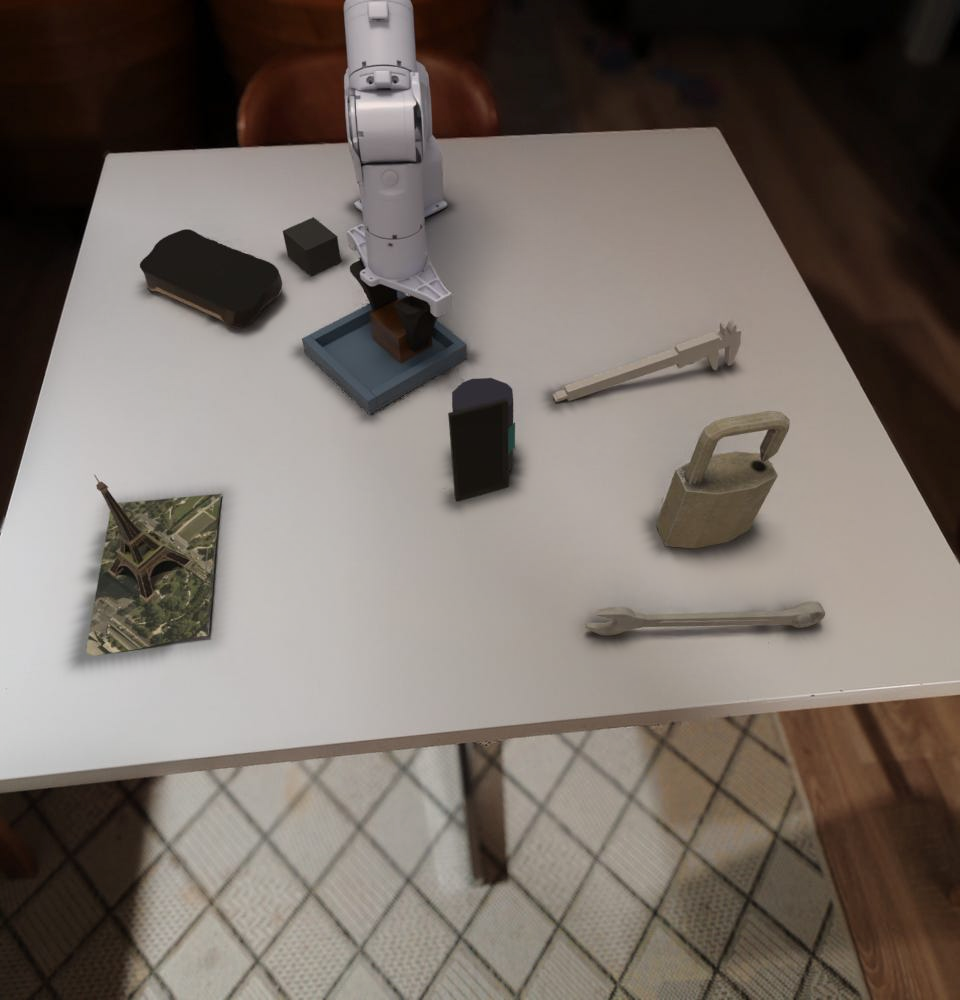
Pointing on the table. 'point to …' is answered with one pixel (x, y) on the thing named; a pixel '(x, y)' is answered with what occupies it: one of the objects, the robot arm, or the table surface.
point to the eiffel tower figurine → (154, 573)
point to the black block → (312, 246)
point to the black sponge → (211, 277)
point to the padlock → (721, 484)
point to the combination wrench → (705, 618)
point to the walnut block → (392, 333)
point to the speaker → (481, 436)
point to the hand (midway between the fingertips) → (402, 332)
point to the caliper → (662, 362)
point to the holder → (378, 359)
